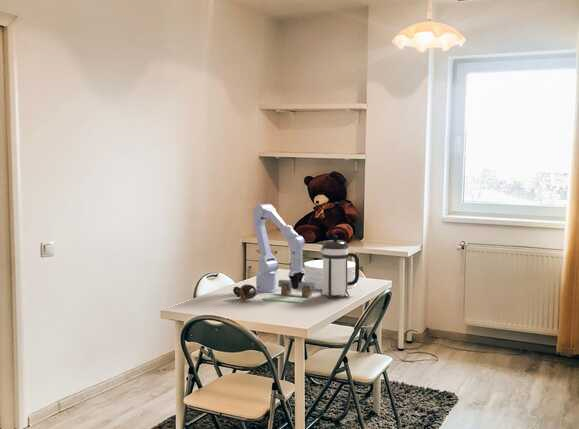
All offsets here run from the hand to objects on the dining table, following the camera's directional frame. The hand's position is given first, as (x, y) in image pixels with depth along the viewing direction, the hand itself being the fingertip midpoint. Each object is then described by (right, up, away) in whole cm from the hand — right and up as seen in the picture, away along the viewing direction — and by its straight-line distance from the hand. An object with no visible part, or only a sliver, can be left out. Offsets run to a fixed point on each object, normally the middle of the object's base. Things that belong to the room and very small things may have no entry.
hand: (296, 288), depth 309 cm
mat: (-5, -4, -10) cm, 13 cm away
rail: (0, 0, 0) cm, 0 cm away
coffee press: (+20, -4, -1) cm, 20 cm away
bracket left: (-5, -3, +2) cm, 6 cm away
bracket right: (+5, -4, -2) cm, 6 cm away
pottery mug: (-25, -5, -10) cm, 27 cm away
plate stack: (+18, -2, +26) cm, 32 cm away
